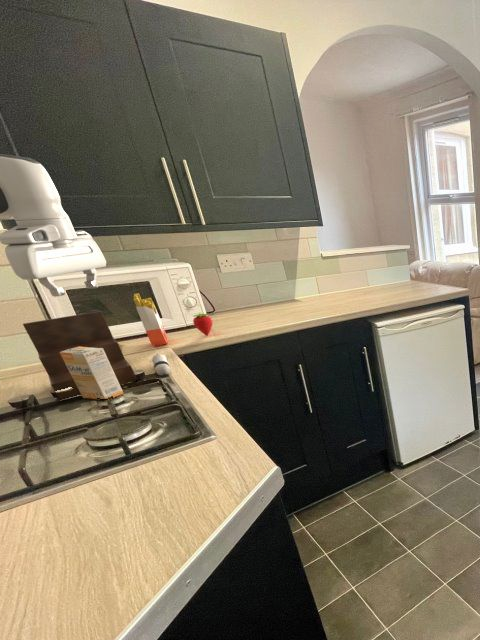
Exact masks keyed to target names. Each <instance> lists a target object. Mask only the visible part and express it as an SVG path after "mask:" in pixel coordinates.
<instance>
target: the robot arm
mask: <svg viewBox="0 0 480 640" xmlns="http://www.w3.org/2000/svg"><path fill="white" fill-rule="evenodd" d="M5 220H14V221H15V223H16V225H15V226H13V227H11V228H10V229H7V230H5V231H3V232H1V233H0V243H1V244H2V245H5V248H4V253H5V256H6V258H7V260H8V263H9V265H10V267H11V269H12V270H13V273H14V274H15V275H16V276H17V277H18V278H20V279H21V280H23V281H25V280H26V281H27V280H37V281H38V282H39V284H41V285H42V286H43V287H44V288H45V289H46V290H48V291H49V293H50V295H51V296H52V297H54V298H55V297H62V296H65V295H66V293H65V291H64V289H63V287H59V286H57V284H55V283H54V282H55V278H54V277H56V276H62V275H67V274H73V273H78V272H82V273H83V274H84V275H85V277H86V281H84V282H83V283H84V285H85V287H86V288H87V289H89V290H91V289H97V288H99V284H98V282H97V278H98V271H97V270H96V269H100V268H106V266H107V259H106V258H105V256H104V254H103V252H102V250H101V249H100V246H99V245H98V244H97V242H96V241H95V240H94V239H93V236H92V235H91V234H90V233H88V232H86V231H85V230H82V229H80V230H79V229H78V230H76V229H74V225H73V224H72V221H71V219H70V217H69V215H68V214H67V213H66V212H65V210H64V208H63V206H62V201H61V197H60V194H59V192H58V189H57V187H56V186H55V183H54V182H53V180H52V178H51V176H50V174H49V172H48V171H47V170H46V168H45V167H44V166H43V164H41V163H40V162H39V161H37V160H36V159H33V158H31V157H26V156H20V155H14V154H13V155H12V154H5V153H4V154H3V153H0V221H5Z"/></svg>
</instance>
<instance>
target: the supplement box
mask: <svg viewBox="0 0 480 640" xmlns="http://www.w3.org/2000/svg"><path fill="white" fill-rule="evenodd" d="M60 354H61V356H62V358H63V360H64V362H65V364H66V366H67V368H68V370H69V372H70V374H71V376H72V378H73V380H74V382H75V383H76V385H77V387H78V389H79V391H80V393H81V395H82V396H81V397H82V399H91V400H98V399H97V398H100V399H106V398H108V397H111V396H113V398H115V397H118V396H120V395H123V394H124V391H123V388H122V386H120V384H119V382H118V380H117V378H116V376H115V374H114V371H113V369H112V367H111V365H110V363H109V360H108V358H107V356H106V354H105V352H104V350H103V348H93V347H80V346H79V347H76V348H72V349H68V350H65V351H62V352H60ZM100 399H99V400H100Z"/></svg>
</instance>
